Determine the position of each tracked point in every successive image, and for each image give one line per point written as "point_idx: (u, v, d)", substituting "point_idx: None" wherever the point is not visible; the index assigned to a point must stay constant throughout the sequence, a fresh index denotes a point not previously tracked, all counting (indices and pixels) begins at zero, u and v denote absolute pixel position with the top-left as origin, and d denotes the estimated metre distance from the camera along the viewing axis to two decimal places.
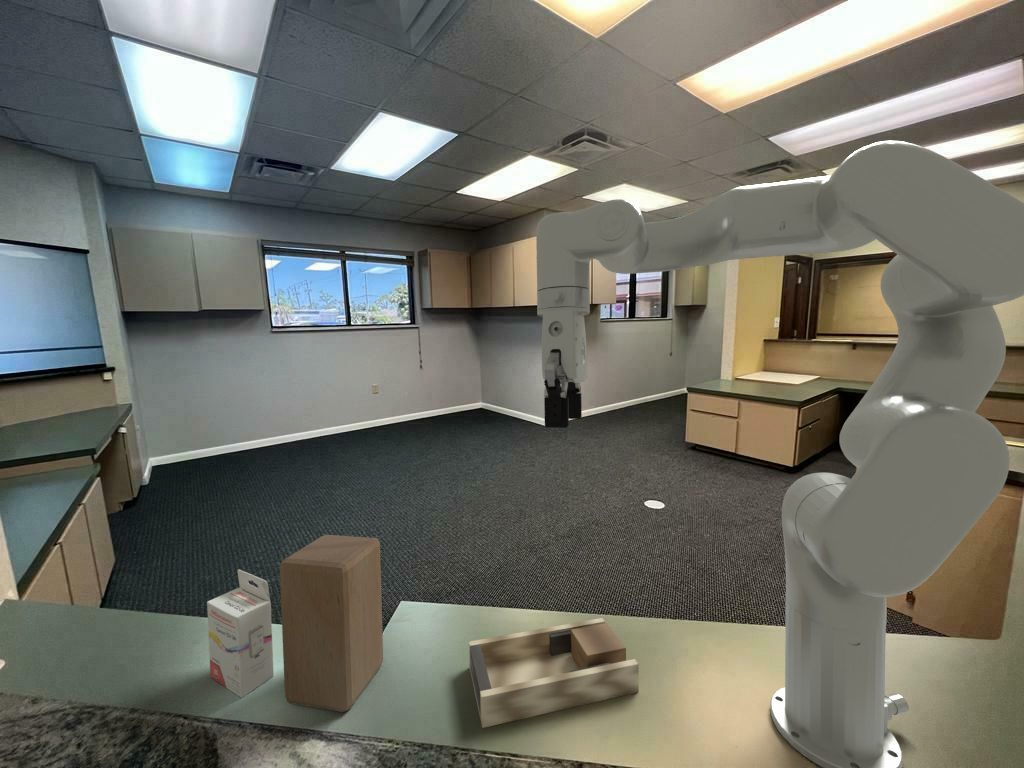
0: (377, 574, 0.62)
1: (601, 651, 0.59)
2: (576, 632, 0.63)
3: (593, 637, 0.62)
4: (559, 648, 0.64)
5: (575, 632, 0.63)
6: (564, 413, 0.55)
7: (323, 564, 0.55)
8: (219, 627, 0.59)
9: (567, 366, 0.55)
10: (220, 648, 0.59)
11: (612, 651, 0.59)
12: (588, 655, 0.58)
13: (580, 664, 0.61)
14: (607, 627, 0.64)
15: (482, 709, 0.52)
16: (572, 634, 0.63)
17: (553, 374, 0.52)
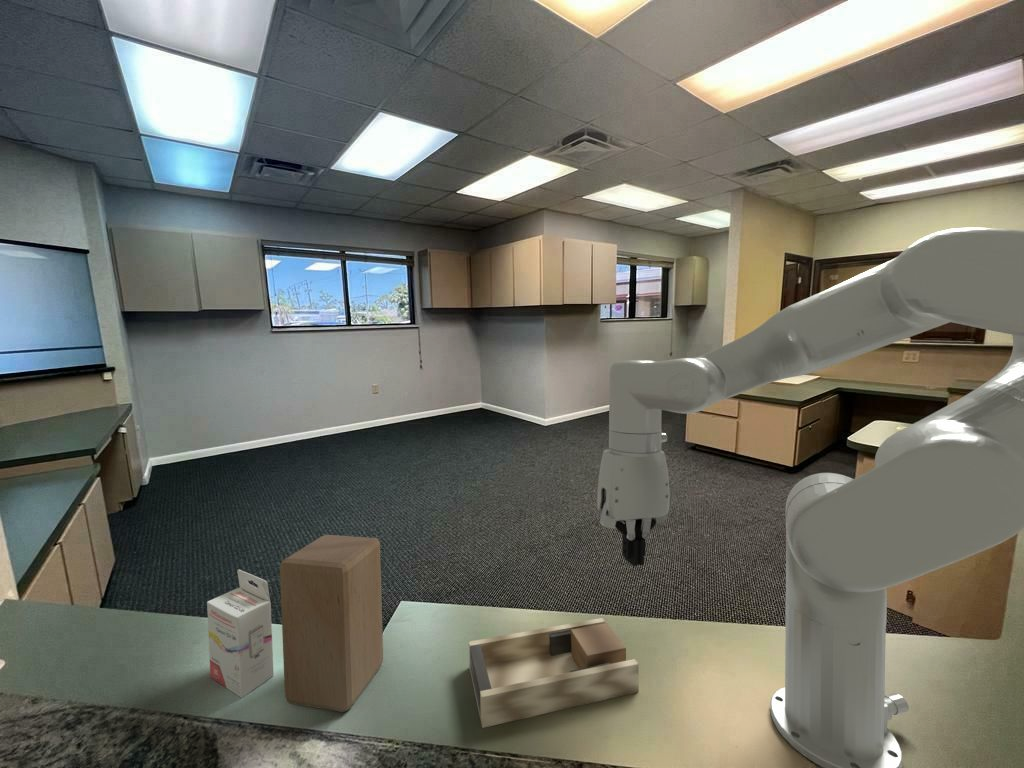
0: (377, 574, 0.62)
1: (601, 651, 0.59)
2: (576, 632, 0.63)
3: (593, 637, 0.62)
4: (559, 648, 0.64)
5: (575, 632, 0.63)
6: None
7: (323, 564, 0.55)
8: (219, 627, 0.59)
9: None
10: (220, 648, 0.59)
11: (612, 651, 0.59)
12: (588, 655, 0.58)
13: (580, 664, 0.61)
14: (607, 627, 0.64)
15: (482, 709, 0.52)
16: (572, 634, 0.63)
17: None
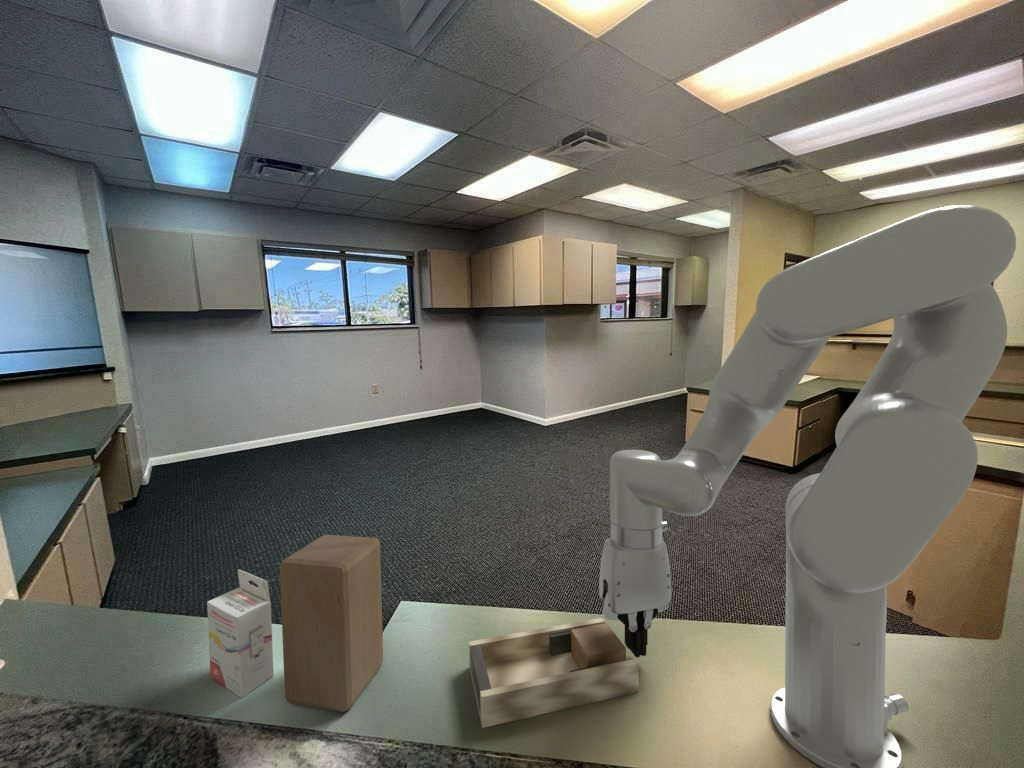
0: (377, 574, 0.62)
1: (601, 651, 0.59)
2: (576, 632, 0.63)
3: (593, 637, 0.62)
4: (559, 648, 0.64)
5: (575, 632, 0.63)
6: None
7: (323, 564, 0.55)
8: (219, 627, 0.59)
9: None
10: (220, 648, 0.59)
11: (612, 651, 0.59)
12: (588, 655, 0.58)
13: (580, 664, 0.61)
14: (607, 627, 0.64)
15: (482, 709, 0.52)
16: (572, 634, 0.63)
17: None
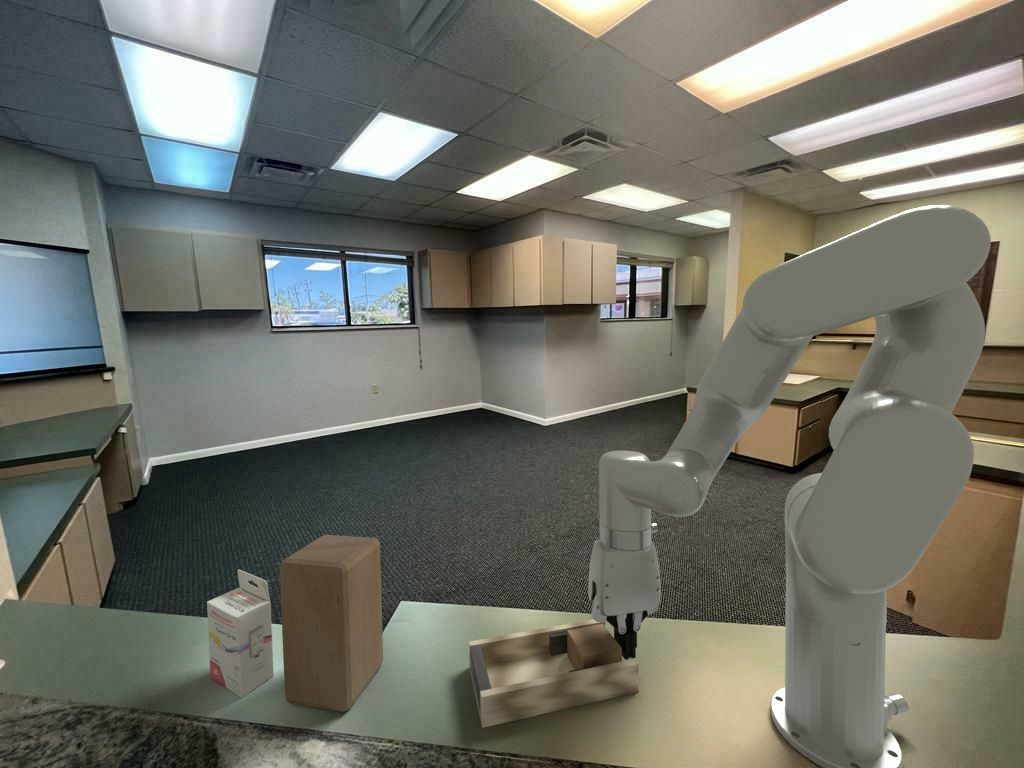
0: (377, 574, 0.62)
1: (596, 652, 0.59)
2: (572, 633, 0.63)
3: (589, 638, 0.62)
4: (559, 648, 0.64)
5: (571, 633, 0.63)
6: None
7: (323, 565, 0.55)
8: (219, 627, 0.59)
9: None
10: (220, 648, 0.59)
11: (608, 652, 0.59)
12: (584, 656, 0.58)
13: (576, 665, 0.60)
14: (603, 628, 0.64)
15: (482, 709, 0.52)
16: (568, 635, 0.63)
17: None
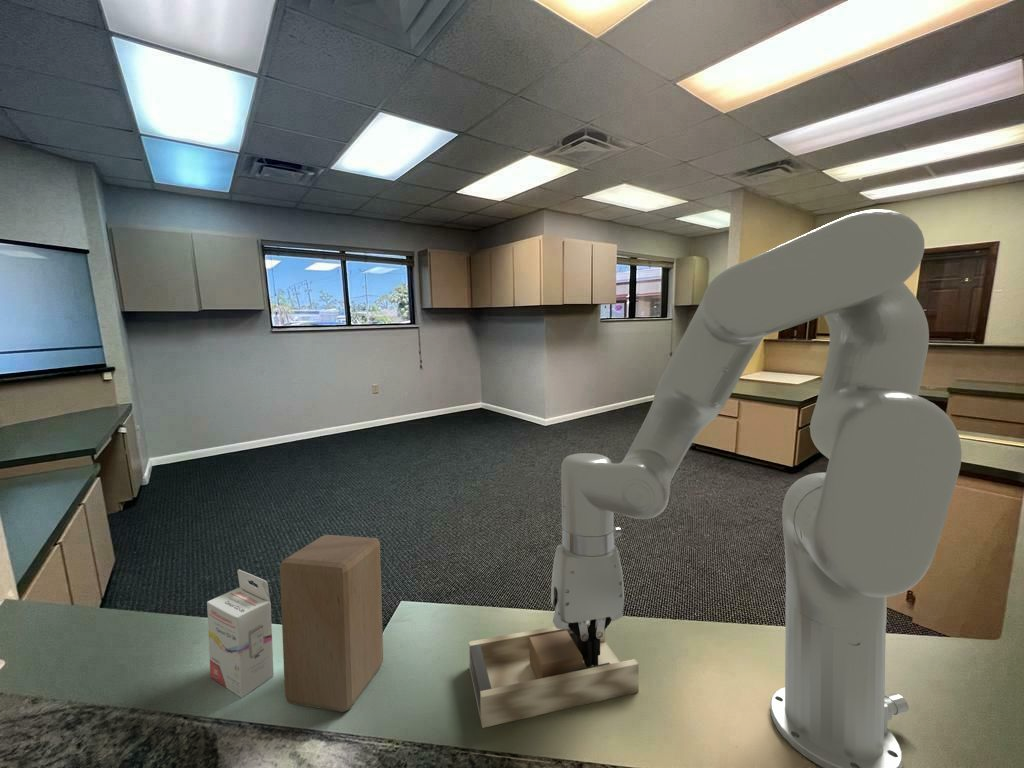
0: (377, 574, 0.62)
1: (556, 660, 0.57)
2: (534, 640, 0.62)
3: (550, 645, 0.60)
4: None
5: (533, 640, 0.62)
6: None
7: (323, 564, 0.55)
8: (219, 627, 0.59)
9: None
10: (220, 648, 0.59)
11: (568, 660, 0.57)
12: (543, 664, 0.57)
13: (537, 673, 0.59)
14: (567, 634, 0.63)
15: (482, 709, 0.52)
16: (530, 642, 0.62)
17: None
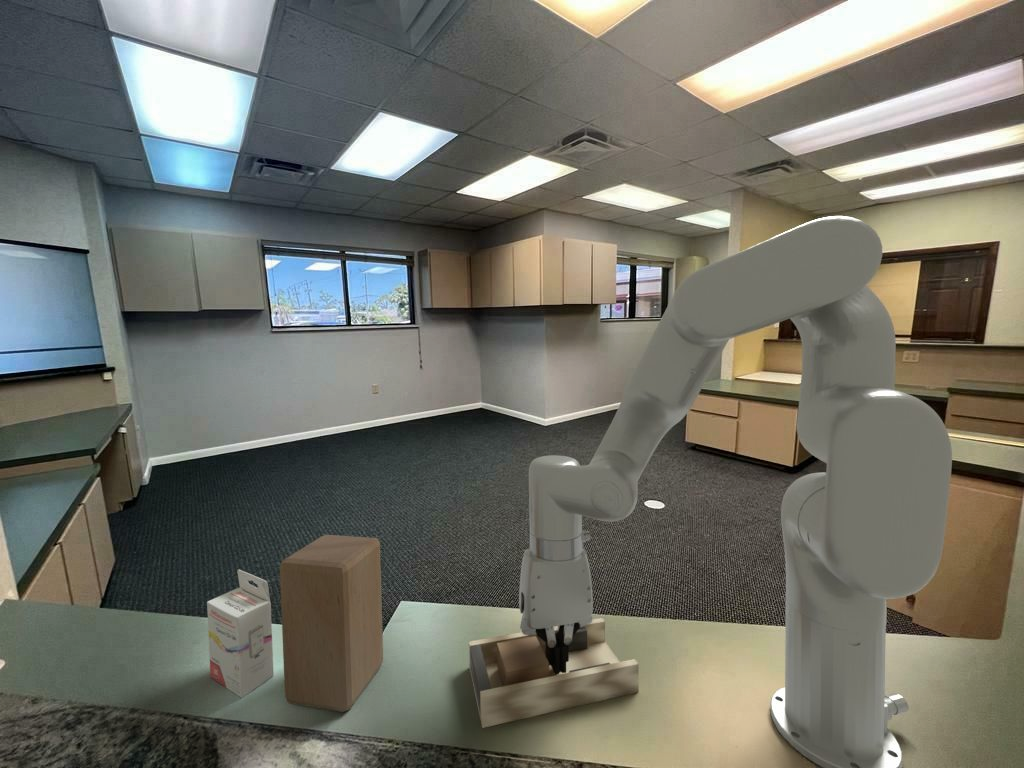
0: (377, 574, 0.62)
1: (521, 667, 0.56)
2: (501, 646, 0.60)
3: (517, 651, 0.59)
4: None
5: (500, 646, 0.60)
6: None
7: (323, 564, 0.55)
8: (219, 627, 0.59)
9: None
10: (220, 648, 0.59)
11: (534, 667, 0.56)
12: (507, 671, 0.55)
13: (502, 680, 0.58)
14: (535, 640, 0.61)
15: (482, 709, 0.52)
16: (497, 648, 0.61)
17: None
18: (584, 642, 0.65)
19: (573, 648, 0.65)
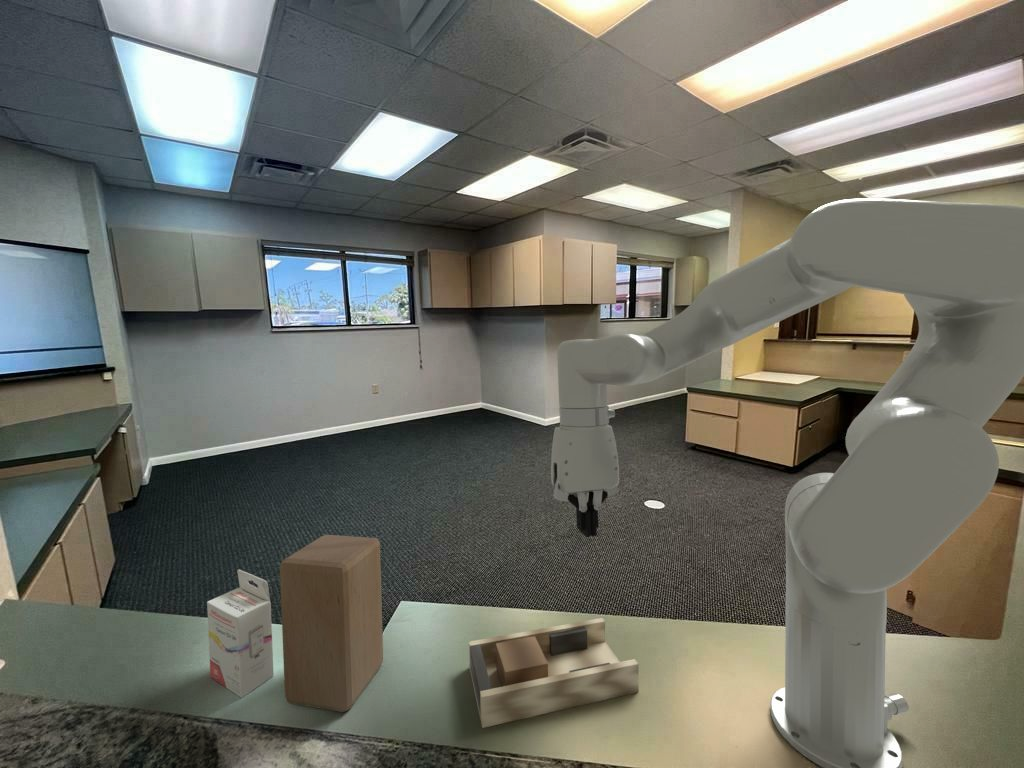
0: (377, 574, 0.62)
1: (520, 667, 0.56)
2: (500, 646, 0.60)
3: (516, 651, 0.59)
4: (559, 648, 0.64)
5: (499, 646, 0.60)
6: None
7: (323, 564, 0.55)
8: (219, 627, 0.59)
9: None
10: (220, 648, 0.59)
11: (533, 667, 0.56)
12: (506, 671, 0.55)
13: (501, 681, 0.58)
14: (534, 641, 0.61)
15: (482, 709, 0.52)
16: (496, 648, 0.61)
17: None
18: (584, 642, 0.65)
19: (573, 648, 0.65)
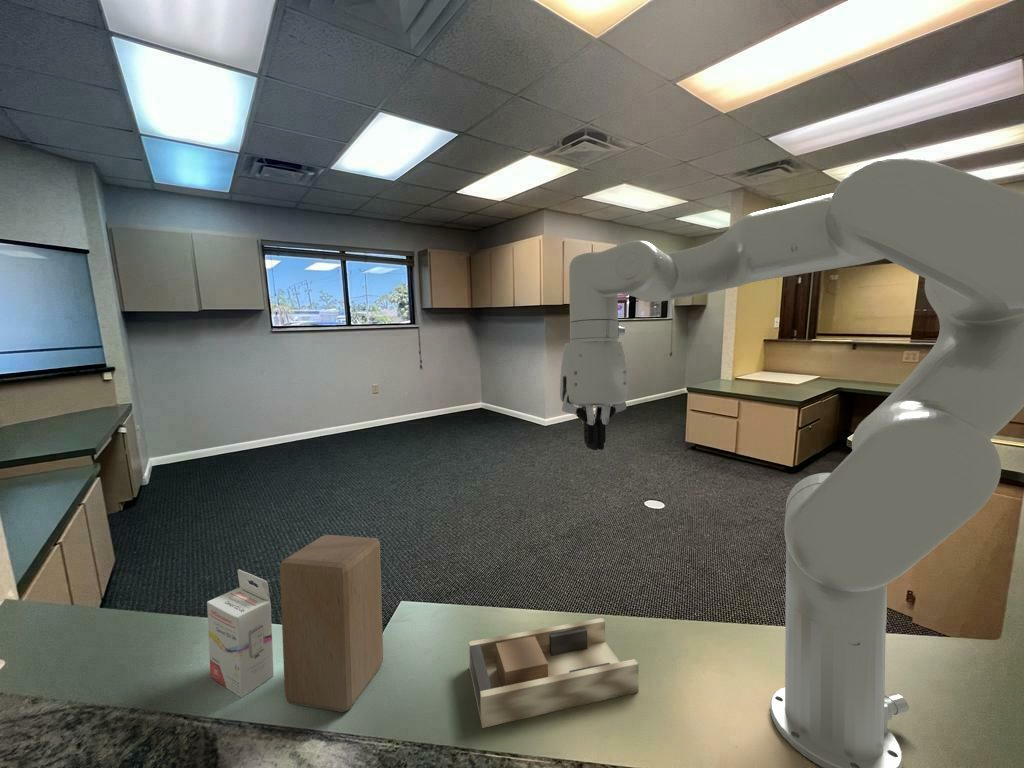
0: (377, 574, 0.62)
1: (520, 667, 0.56)
2: (500, 646, 0.60)
3: (516, 651, 0.59)
4: (559, 648, 0.64)
5: (499, 646, 0.60)
6: None
7: (323, 565, 0.55)
8: (219, 627, 0.59)
9: None
10: (220, 648, 0.59)
11: (533, 667, 0.56)
12: (506, 671, 0.55)
13: (501, 681, 0.58)
14: (534, 641, 0.61)
15: (482, 709, 0.52)
16: (496, 648, 0.61)
17: None
18: (584, 642, 0.65)
19: (573, 648, 0.65)
